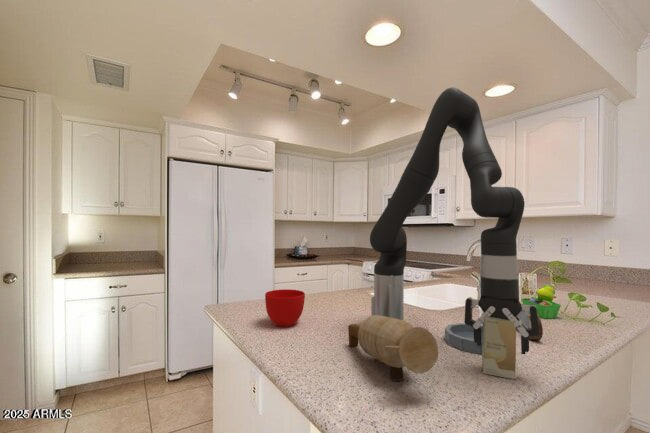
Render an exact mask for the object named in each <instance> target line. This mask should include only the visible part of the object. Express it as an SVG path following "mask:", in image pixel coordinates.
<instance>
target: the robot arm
mask: <svg viewBox="0 0 650 433" xmlns="http://www.w3.org/2000/svg"><path fill="white" fill-rule="evenodd" d="M448 127H449V128H451V129H454V130H455V131H456V132H457V134H458V135H459V136H460V138H461V140H462V144H463V147H462V152H461V159H462V163H463V167H464V169H465V171H466V174H467V176H468V179H469V184H470V185H469V187H470V203H471V208H472V210H473V211H474V213H475V214H476V215H477V216H479V217H481V218H486V219H487V218H488V219H491V218H492V219H493V218H494V219H495V218H496V219H497V218H498V219H497V222H496V224H495V226H493V227H491V228H485V229H484V230H483V231H481V234H480V261H479V274H480V275H479V277H480V278H479V279H480V281H479V282H480V283H479V284H480V286H479V287H480V297H479V299H477V298H476V299H475V298H473V297H471V296H468V297H467V298H466V299H465V303H464V304H465V305H464V306H465V307H464V322H463V323H465V324H466V325H470V326H472V327H473V329H474V342H475V343H477V346H481V344H482V332H481V328H480V326H481V325H483V323H484V317H494V318H500V319H505V320H510V321H511V322H514V321H515V322H514V326H515V327H516V328H517V329H518V330H519V331H518V330H517V329H516V330H517V331H518V332H519V333H520V346H521V347H520V349H521V350H520V352H521V355H526V353H529V351H530V339H529V337H530V336H534V335H535V336H537V335H539V326H538V316H537V307H536V305H534V304H531V305H521V303H522V302H520V284H519V282H520V280H519V276H520V270H519V263H518V262H519V261H518V257H517V256H518V255H517V254H518V253H517V252H518V251H517V236H518V232H519V229H520V226H521V222H522V218H523V214H524V210H525V207H526V206H525V197H524V195H523V193H522V192H521V191H520V189H518V188H516V187H512V186H494V185H496V183H498V182H499V181H500V180H501V179H502V177H503V172H502V169H501V166H500V164H499V162H498V160H497V158H496V156H495V153H494V151H493V150H492V147H491V145H490V143H489V141H488V138H487V135H486V130H485V128H484V122H483V119H482V115H481V109H480V106H479V104H478V102H477V100H476V99H474V98H473V97H472V96H470V95H469V94H467V93H465V92H464V91H462V90H460V88H457V87H454V86H453V87H452V86H451V87H448V88H446V89H444V91H442V92H441V93H440V95H439V96H438V98H437V99H436V101H435V102H434V104H433V106H432V109H431V111H430V113H429V116H428V119H427V121H426V124H425V126H424V129H423V130H422V131H423V132H422V134H421V137H420V139H419V140H418V143H417V144H416V147H415V149H414V150H413V151H414V152H413V153H412V156H411V158H410V159H409V161H408V163H407V165H406V166H405V169H404V170H403V173H402V174H401V177H400V178H399V181H398V183H397V185H396V187H395V189H394V191H393V193H392V195H391V197H390V199H389V201H388V203H387V205H386V207H385V209H384V210H383V212H382V213H381V215H380V216H379V218H378V219H377V221H376V222H375V224H374V226H373V227H372V229H371V232H370V235H369V243H370V246H371V248H372V249H373V250H374V251H376V252H377V253H380V254H379V255H380V256H379V259H378V261H377V262H376V263H375V264H374V266H373V268H374V269H373V273H374V274H373V275H374V277H373V282H374V284H373V296H372V297H371V304H370V305H371V312H370V313H371V315H370V316H373V315H380V316H385V317H390V318H395V319H400V320H404V317H405V316H404V311H405V309H404V308H405V307H404V305H405V304H404V297H405V296H404V280H405V279H404V274H405V272H404V270H405V267H406V265H407V251H408V250H407V249H408V248H407V245H408V239H407V238H408V237H407V233H406V231H405V229H404V228H403V227H402V226H403V225H404V222H405V221H406V219H407V218H408V216H409V215H410V214H411V212H412V211H413V210H414V209H415V208H417V206H418V205H420V204H421V202H422V201H423V200H424V199H425V197H427V195H428V193H429V192H430V190H431V188H432V187H433V185H434V183H435V181H436V180H437V177H438V174H439V170H440V152H441V151H440V150H441V142H442V140H443V136H444V134H445V132H446V130H447V128H448ZM477 305H478V307H479V308H480V309H481V311H482V312H483V313H482V314H481V315H480V316H479V317H478V318H477V319H476V320H475V319H473V309H475V308H476V306H477ZM522 310H524V311H525V312H526V315H528V316H530V317H531V327H532V328H528V329H527V328H526V327H525V325H524V324H523V323H522V321H521V320H520V319H519V317H518V316H517V315H518V314H519V313H520V312H521V311H522Z"/></svg>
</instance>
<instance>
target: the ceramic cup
mask: <svg viewBox="0 0 650 433" xmlns="http://www.w3.org/2000/svg"><path fill="white" fill-rule="evenodd" d="M305 294H306V293H305V291H303V290H298V289H287V288H285V289H273V290H269V291H267V292H265V293H264V299H265V302H264V303H265V308H266V314H267V316H268V318H269V319H270V321H271V322H272V323H273V325H274V326H276V327H279V328H289V327H292V326H295V325H296V323H297V322H298V320H299V319H300V317H302V314H303V310H304V307H305V297H306V296H305Z"/></svg>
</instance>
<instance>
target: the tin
mask: <svg viewBox="0 0 650 433" xmlns="http://www.w3.org/2000/svg"><path fill="white" fill-rule="evenodd" d="M521 305H524V304H523V303H522V304H521ZM517 316H518V317H519V319H520V320H521V321H522V323H523V324H524V325H525V327H526V328H527V329H528V328H532V327H531V317H530V316H528V315H526V312H525V311H524V310H522V311H521V312H520V313H519V314H518V315H517ZM537 316H538V326H539V335H537V336H535V335H534V336H530V337H529V340H535V341H540V340H542V338H543V333H544V327H543V323H542V320H541V317H539V315H538V313H537ZM516 331H518V332H519V330H518V329H517V328H516Z"/></svg>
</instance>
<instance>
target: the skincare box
mask: <svg viewBox="0 0 650 433" xmlns="http://www.w3.org/2000/svg"><path fill="white" fill-rule="evenodd" d="M514 322H515V321H514ZM514 322H511V321H510V320H505V319H500V318H494V317H484V323H483V324H482V325H483V337H482V354H481V355H482V356H481V367H482V371H483V374H485V375H490V376H496V377H501V378H505V379H512V380H516V371H517V370H516V369H517V368H516V367H517V366H516V364H517V363H516V361H517V360H516V359H517V358H516V356H517V354H516V350H517V342H516V341H517V329H516V327H515V326H514Z"/></svg>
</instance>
